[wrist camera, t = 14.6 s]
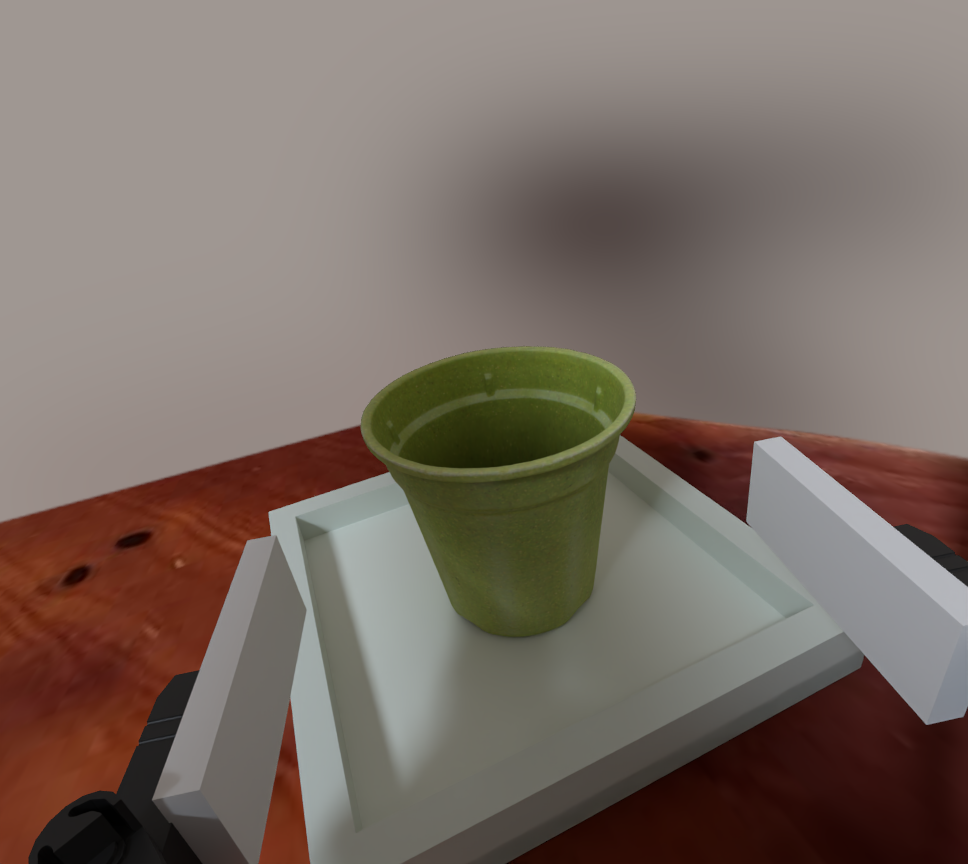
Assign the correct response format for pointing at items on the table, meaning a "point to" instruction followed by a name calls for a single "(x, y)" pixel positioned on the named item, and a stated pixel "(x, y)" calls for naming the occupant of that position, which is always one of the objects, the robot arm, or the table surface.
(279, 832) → the table surface
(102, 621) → the table surface
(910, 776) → the table surface
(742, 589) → the tray
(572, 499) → the plant pot
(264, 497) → the table surface
